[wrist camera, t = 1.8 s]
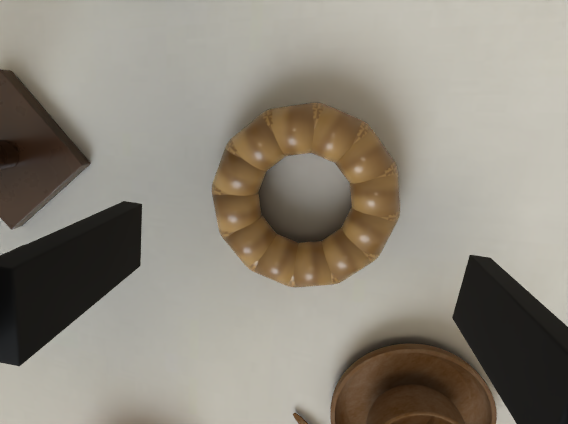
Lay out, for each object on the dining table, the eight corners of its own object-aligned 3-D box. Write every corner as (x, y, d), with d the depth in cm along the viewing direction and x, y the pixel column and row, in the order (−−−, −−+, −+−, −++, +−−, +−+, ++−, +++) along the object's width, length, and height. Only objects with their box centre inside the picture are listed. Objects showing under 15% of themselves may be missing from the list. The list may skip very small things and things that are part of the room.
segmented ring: (186, 177, 27) (170, 185, 24) (324, 65, 24) (324, 58, 21) (289, 303, 29) (285, 325, 26) (429, 213, 26) (442, 226, 23)
